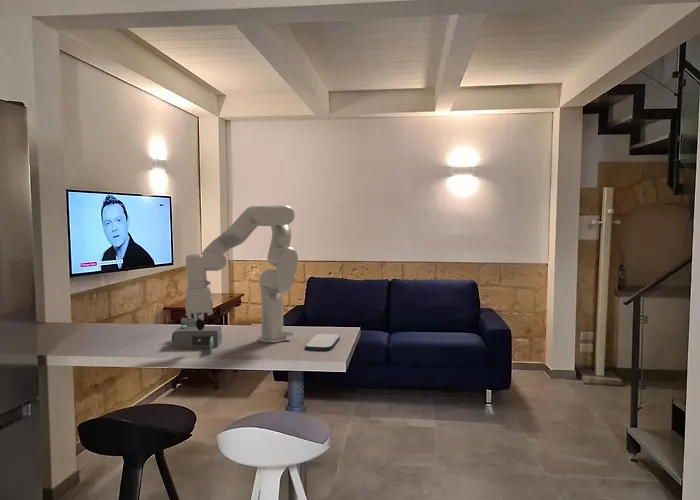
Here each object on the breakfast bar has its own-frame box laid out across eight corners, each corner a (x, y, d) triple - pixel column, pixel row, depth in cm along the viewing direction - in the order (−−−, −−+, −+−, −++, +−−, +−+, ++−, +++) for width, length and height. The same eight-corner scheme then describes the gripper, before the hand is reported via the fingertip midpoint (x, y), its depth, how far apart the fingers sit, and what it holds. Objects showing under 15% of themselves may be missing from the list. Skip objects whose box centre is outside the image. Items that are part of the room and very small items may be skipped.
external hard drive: (316, 337, 231) (316, 333, 230) (341, 338, 229) (341, 334, 229) (303, 351, 207) (303, 346, 207) (330, 352, 205) (330, 347, 205)
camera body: (221, 341, 221) (221, 323, 220) (217, 347, 211) (217, 328, 211) (176, 342, 219) (175, 324, 219) (170, 348, 210) (169, 329, 209)
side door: (211, 347, 211) (211, 335, 211) (215, 347, 211) (214, 335, 211) (209, 353, 201) (209, 341, 200) (213, 353, 201) (213, 341, 201)
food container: (193, 340, 223) (193, 318, 222) (181, 340, 224) (180, 318, 223) (206, 334, 235) (206, 313, 234) (194, 334, 236) (194, 312, 235)
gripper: (217, 282, 206) (221, 326, 208) (180, 284, 205) (184, 328, 207) (214, 285, 199) (217, 330, 201) (175, 287, 198) (179, 333, 199)
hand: (200, 329), depth 204 cm, fingers closed
